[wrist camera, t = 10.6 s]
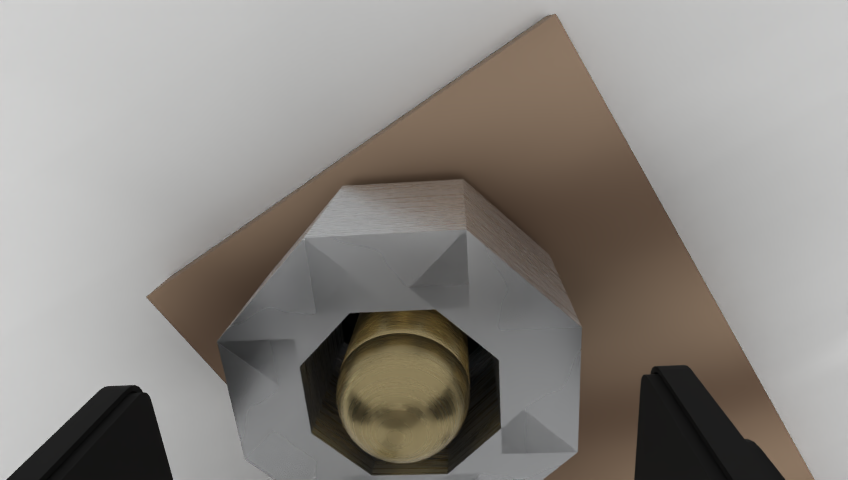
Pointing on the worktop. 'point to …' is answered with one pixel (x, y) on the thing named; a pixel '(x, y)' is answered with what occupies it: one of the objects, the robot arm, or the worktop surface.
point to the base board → (547, 226)
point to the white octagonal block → (401, 291)
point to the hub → (403, 383)
